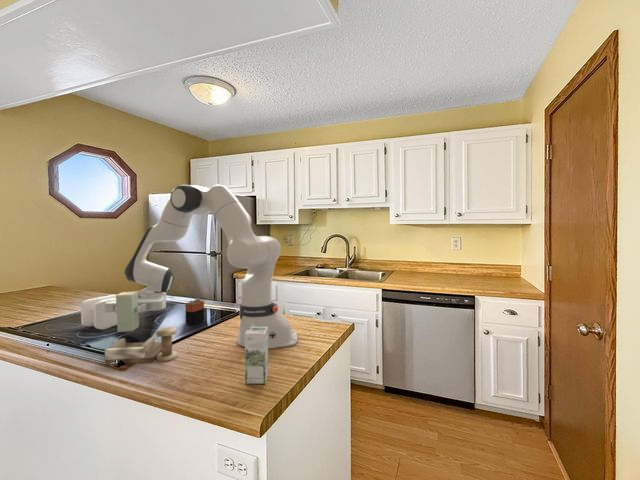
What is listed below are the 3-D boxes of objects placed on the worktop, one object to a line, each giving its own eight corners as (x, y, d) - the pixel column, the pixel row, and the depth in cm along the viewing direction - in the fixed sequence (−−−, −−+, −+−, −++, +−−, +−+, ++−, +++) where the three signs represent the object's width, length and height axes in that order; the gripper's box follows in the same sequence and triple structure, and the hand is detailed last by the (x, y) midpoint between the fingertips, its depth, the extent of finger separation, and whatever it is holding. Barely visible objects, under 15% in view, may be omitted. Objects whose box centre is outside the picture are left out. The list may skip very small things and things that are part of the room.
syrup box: (268, 374, 89) (268, 325, 89) (265, 385, 84) (265, 333, 83) (248, 374, 89) (248, 325, 88) (244, 385, 83) (244, 333, 82)
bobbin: (179, 352, 103) (179, 326, 103) (173, 360, 97) (173, 333, 97) (160, 353, 102) (160, 327, 102) (153, 361, 97) (152, 334, 96)
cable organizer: (94, 332, 121) (93, 303, 121) (80, 328, 126) (79, 300, 126) (132, 322, 134) (131, 295, 134) (119, 318, 140) (118, 293, 139)
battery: (204, 320, 137) (204, 298, 136) (192, 325, 131) (192, 302, 130) (197, 319, 139) (197, 297, 138) (185, 323, 132) (184, 301, 132)
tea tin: (139, 326, 114) (138, 291, 113) (132, 331, 109) (131, 294, 108) (124, 327, 113) (122, 291, 112) (117, 331, 108) (115, 295, 107)
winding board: (168, 345, 109) (167, 333, 109) (153, 361, 97) (153, 348, 96) (125, 347, 107) (125, 334, 107) (105, 364, 95) (104, 350, 94)
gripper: (114, 294, 122) (94, 303, 108) (169, 292, 124) (156, 300, 111) (115, 309, 122) (95, 320, 108) (169, 307, 125) (156, 317, 111)
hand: (126, 310), depth 109 cm, fingers closed on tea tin, 5 cm apart
